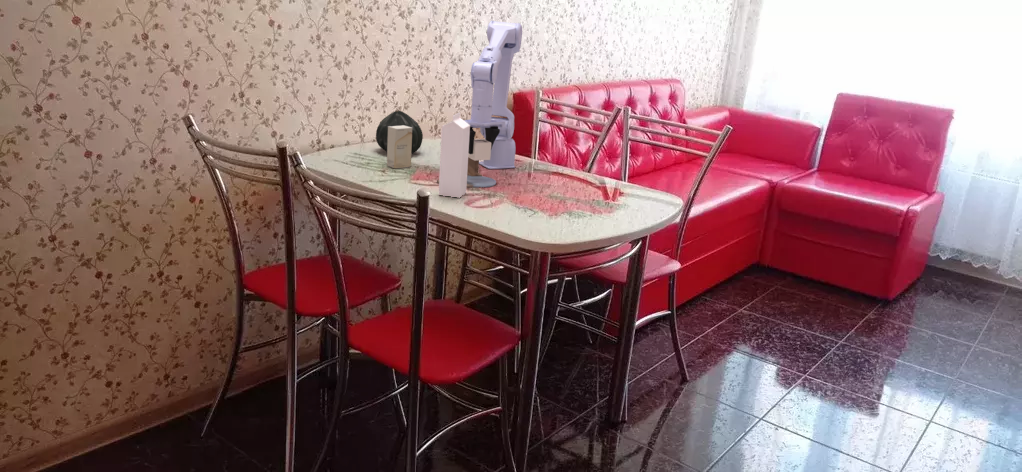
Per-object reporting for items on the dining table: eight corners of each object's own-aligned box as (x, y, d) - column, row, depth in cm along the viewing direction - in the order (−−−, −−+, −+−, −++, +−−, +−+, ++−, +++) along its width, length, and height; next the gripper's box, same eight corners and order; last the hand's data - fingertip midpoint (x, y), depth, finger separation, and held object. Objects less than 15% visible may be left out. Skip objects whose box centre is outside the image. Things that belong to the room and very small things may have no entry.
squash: (411, 129, 253) (387, 98, 242) (437, 140, 243) (414, 108, 232) (383, 159, 249) (358, 129, 239) (409, 171, 239) (384, 140, 229)
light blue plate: (486, 176, 222) (486, 174, 222) (502, 186, 213) (502, 184, 213) (452, 178, 217) (452, 176, 217) (467, 188, 208) (467, 186, 208)
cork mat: (460, 179, 216) (460, 177, 216) (475, 186, 211) (475, 184, 210) (436, 182, 212) (436, 180, 212) (452, 189, 206) (452, 187, 206)
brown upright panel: (464, 167, 231) (465, 145, 229) (482, 177, 221) (483, 154, 218) (453, 167, 230) (455, 145, 228) (471, 178, 219) (472, 155, 217)
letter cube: (482, 155, 216) (483, 138, 215) (490, 159, 212) (491, 142, 210) (466, 156, 214) (467, 139, 212) (474, 160, 210) (475, 142, 208)
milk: (438, 195, 199) (441, 113, 192) (445, 190, 205) (448, 110, 198) (460, 198, 198) (463, 116, 191) (466, 193, 204) (470, 113, 196)
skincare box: (394, 169, 223) (395, 129, 219) (386, 165, 225) (387, 126, 222) (411, 166, 227) (413, 127, 223) (403, 163, 230) (404, 124, 226)
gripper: (464, 108, 201) (461, 157, 206) (511, 107, 208) (507, 155, 212) (453, 103, 207) (451, 151, 212) (500, 103, 214) (496, 149, 218)
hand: (478, 152), depth 212 cm, fingers closed on letter cube, 5 cm apart
